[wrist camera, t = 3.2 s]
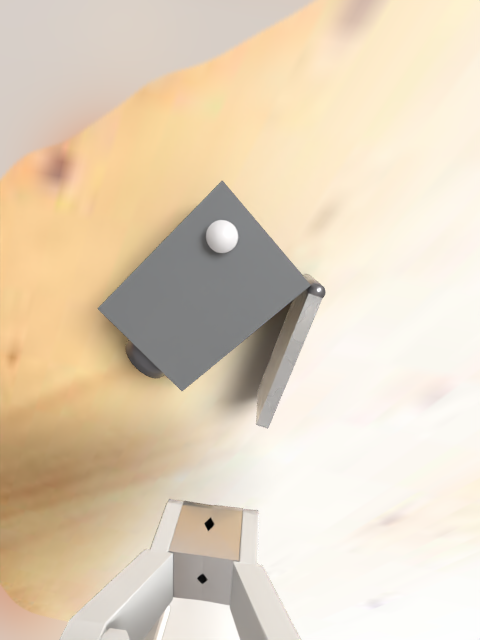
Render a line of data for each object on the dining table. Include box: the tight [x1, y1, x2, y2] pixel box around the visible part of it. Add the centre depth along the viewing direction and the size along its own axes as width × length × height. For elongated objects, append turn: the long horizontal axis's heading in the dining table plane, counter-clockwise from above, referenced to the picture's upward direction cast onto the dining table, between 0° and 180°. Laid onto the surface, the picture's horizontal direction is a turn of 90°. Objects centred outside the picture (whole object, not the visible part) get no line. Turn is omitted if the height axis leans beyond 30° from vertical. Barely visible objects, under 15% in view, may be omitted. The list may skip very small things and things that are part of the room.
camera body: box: [98, 181, 311, 391], centre depth 18 cm, size 12×7×5 cm, turn 132°
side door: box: [256, 274, 325, 428], centre depth 19 cm, size 10×1×4 cm, turn 162°
